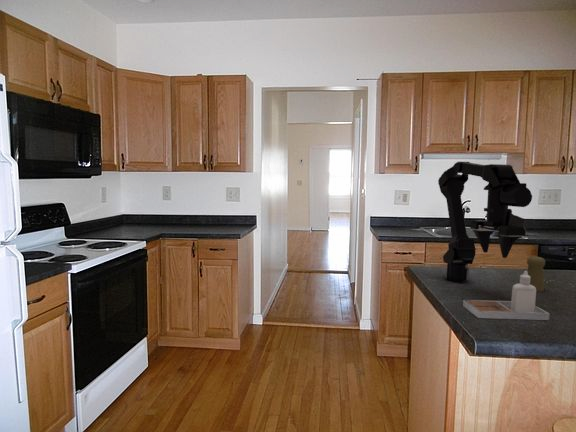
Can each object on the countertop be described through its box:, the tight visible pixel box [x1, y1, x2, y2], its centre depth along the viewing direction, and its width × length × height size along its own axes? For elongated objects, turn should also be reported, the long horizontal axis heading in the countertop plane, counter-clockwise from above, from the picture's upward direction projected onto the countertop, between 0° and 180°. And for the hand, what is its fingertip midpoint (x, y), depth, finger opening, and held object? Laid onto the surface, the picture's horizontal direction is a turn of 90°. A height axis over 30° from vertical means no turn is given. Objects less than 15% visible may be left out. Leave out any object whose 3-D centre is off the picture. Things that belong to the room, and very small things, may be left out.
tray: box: [462, 299, 551, 321], centre depth 108 cm, size 19×10×2 cm, turn 88°
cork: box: [526, 255, 546, 292], centre depth 131 cm, size 6×6×11 cm
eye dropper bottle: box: [510, 270, 537, 312], centre depth 108 cm, size 4×6×12 cm
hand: (494, 255), depth 122 cm, fingers open, 9 cm apart
